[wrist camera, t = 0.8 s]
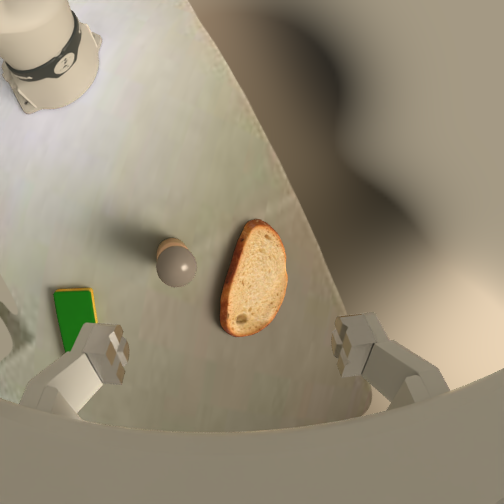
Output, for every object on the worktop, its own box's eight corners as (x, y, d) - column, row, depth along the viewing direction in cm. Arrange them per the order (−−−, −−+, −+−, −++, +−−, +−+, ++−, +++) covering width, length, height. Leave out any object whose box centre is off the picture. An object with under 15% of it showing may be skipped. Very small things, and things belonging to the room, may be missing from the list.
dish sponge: (71, 358, 46) (68, 364, 44) (56, 288, 44) (52, 292, 41) (105, 358, 48) (103, 364, 46) (93, 287, 46) (90, 290, 43)
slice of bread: (261, 211, 53) (269, 211, 50) (309, 287, 59) (318, 292, 55) (178, 272, 50) (180, 277, 47) (237, 344, 56) (242, 353, 52)
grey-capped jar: (149, 255, 48) (148, 270, 37) (170, 230, 48) (174, 238, 38) (174, 275, 50) (179, 295, 39) (194, 251, 50) (205, 264, 40)
